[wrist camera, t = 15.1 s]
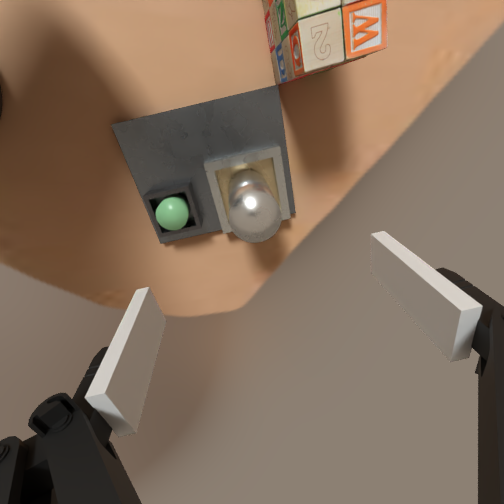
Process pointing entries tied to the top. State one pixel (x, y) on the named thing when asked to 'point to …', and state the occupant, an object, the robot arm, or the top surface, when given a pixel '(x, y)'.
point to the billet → (252, 207)
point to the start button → (173, 212)
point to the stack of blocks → (322, 34)
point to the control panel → (207, 157)
